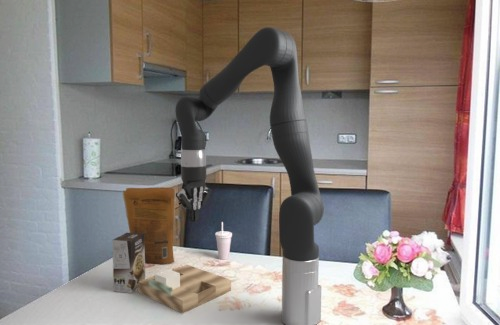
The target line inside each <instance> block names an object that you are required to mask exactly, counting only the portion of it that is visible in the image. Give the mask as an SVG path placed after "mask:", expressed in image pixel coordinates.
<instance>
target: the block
mask: <svg viewBox="0 0 500 325" xmlns="http://www.w3.org/2000/svg"><path fill="white" fill-rule="evenodd" d="M172 270H173V269H170V268H168V269H165V270H161V272H160V271H159V272H157V273H154V276H155V281H157V282H160V283H162V284H164V285H167V286H169V287H172V290H173V289H175V288H178V287H180V273H178V272H175V271H172Z"/></svg>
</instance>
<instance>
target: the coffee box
mask: <svg viewBox="0 0 500 325" xmlns="http://www.w3.org/2000/svg"><path fill="white" fill-rule="evenodd" d="M112 272H113V273H112V276H113V292H118V293H128V294H133V293H134V292H135V291H136V290H138V289H139V281H142V280H145V279H146V263H145V241H144V233H130V232H125V233H123V234H121V235H119V236H117V237H116V238H114V239H112Z"/></svg>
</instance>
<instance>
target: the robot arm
mask: <svg viewBox="0 0 500 325" xmlns="http://www.w3.org/2000/svg"><path fill="white" fill-rule="evenodd" d="M297 50H298V49H297V44H296V41H295V39H294V37H293V36H292V35H291V34H290V33H288V32H287V31H284V30H280V29H279V28H275V27H272V26H271V27H270V26H267V27H266V26H265V27H262V28H261V29H259V30H258V31H257V32H256V33H254V35H252V37H251V38H250V39H249V40H248V41H247V42H246V43H245V44H244V46H243V47H242V48H241V50H239V52H238V53H237V54H236V55H235V56H234V57H233V58H232V60H230V61H229V63H228V64H227V65H225V67H223V68H222V69H221V71H219V72H218V73H216V75H215V76H213V77H212V78H211V79H209V80H208V81H207V82H206V83H205V84H203V85H202V86H201V88H200V89H199V96H198V97H196V96H195V97H194V96H193V97H192V96H191V97H190V96H184V97H183V96H182V97H181V98H179V99H178V101H177V103H176V104H175V108H174V109H175V110H174V111H175V117H176V118H175V119H176V121H177V126H178V128H179V133H180V135H181V155H180V173H181V174H180V176H181V178H180V179H181V181H182V186H181V190H179V192H176V196H175V198H176V199H177V200H178V201H179V202H180V204H181V206H182V207H183V208H184V209H188V212H189V213H188V216H189V218H188V219H189V221H190V222H192V223H196V222H199V219H200V209H201V207H204V206H205V205H206V203H207V201H208V199H209V197H210V194H211V192H212V189H211V188H208V187H207V184H206V180H207V152H206V134H205V131H203V130H202V129H199V128H198V127H197V123H196V122H202V121H205V120H207V119H208V118H209V117H210V116H211V115H212V114H213V113H214V112H215V110H216V109H217V108H218V106H220V105H222V103H224V102H225V101H226V100H228V99H229V98H231V97H232V96H233V95H234V94H235V93H236V92H237V91H238V89H239V88H240V86H241V84H242V83H243V81H244V80H245V79H246V77H248V76H249V75H250V74H251V73H252V72H254V71H256V70H258V69H260V68H261V67H263V66H266V67H267V66H268V67H269V68H270V71H271V76H272V82H273V98H272V101H271V102H272V103H271V107H270V110H269V111H270V112H269V126H270V132H271V138H272V142H273V143H272V144H273V146H274V148H275V151H276V153H277V156H278V157H279V159H280V161H281V162H282V165H283V166H284V168H285V170H286V171H285V172H287V176H288V180H289V186H290V194H291V195H290V196H288V197H285V199H283V201H282V203H280V204H281V205H280V207H279V211H278V220H279V221H278V228H279V231H278V232H279V244H280V247H281V250H282V265H281V266H282V269H281V271H282V272H281V277H282V278H281V321H282V323H284V324H285V325H317V324H318V323H320V322H321V318H322V285H321V284H319V266H320V264H319V262H320V261H319V260H320V247H319V244H317V242H315V226H316V225H317V224H318V223H320V221H321V220H322V219H323V216H324V210H325V209H324V203H323V199H322V196H321V192H320V189H319V185H318V184H319V183H318V182H317V180H318V179H317V176H316V174H315V168H314V163H313V162H314V160H313V154H312V149H311V142H310V136H309V130H308V129H309V128H308V124H307V117H306V115H305V114H306V113H305V109H304V103H303V95H302V90H301V86H300V78H299V75H300V74H299V64H298V63H299V62H298V52H297Z"/></svg>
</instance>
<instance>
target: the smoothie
mask: <svg viewBox="0 0 500 325" xmlns="http://www.w3.org/2000/svg"><path fill="white" fill-rule="evenodd" d="M214 235H215V239H216V247H217V255H218V259H219V260H220V261H227V260H229V258H230V251H231V250H230V249H231V243H232V237H233V232H231V231H225V230H224V222H223V221H221V230H220V231H216V232H215V234H214Z"/></svg>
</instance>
